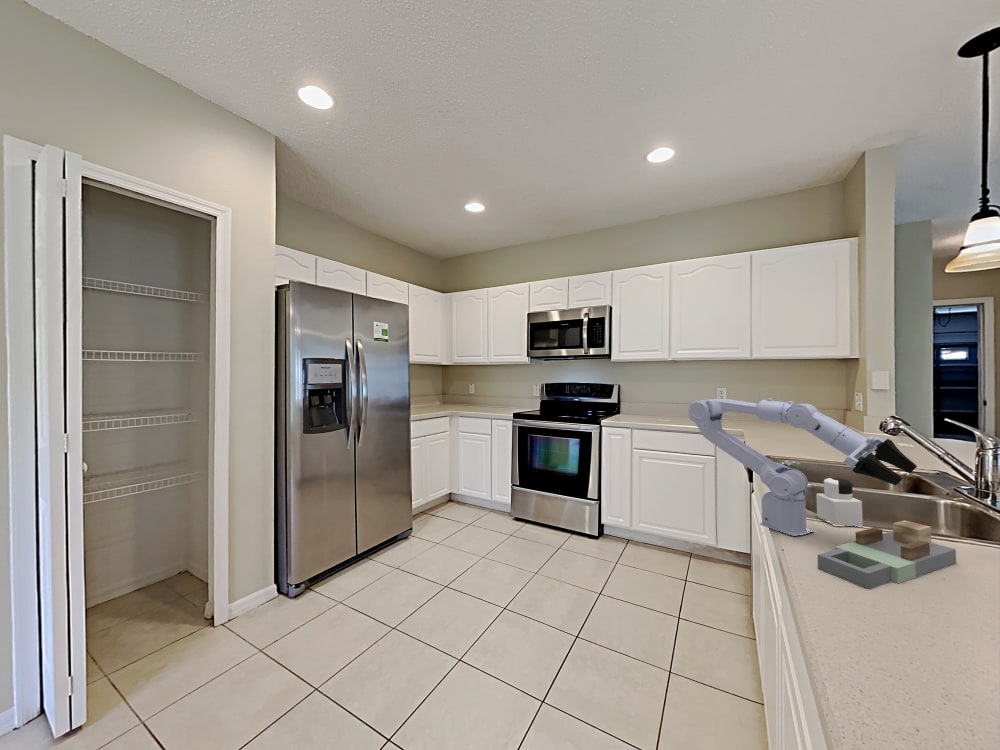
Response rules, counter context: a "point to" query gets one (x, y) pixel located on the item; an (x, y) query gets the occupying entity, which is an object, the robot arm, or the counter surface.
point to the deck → (882, 562)
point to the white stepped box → (839, 503)
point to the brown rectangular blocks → (907, 551)
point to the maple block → (911, 532)
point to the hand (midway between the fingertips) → (906, 475)
